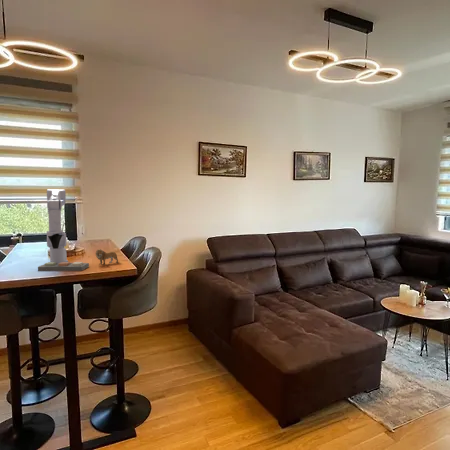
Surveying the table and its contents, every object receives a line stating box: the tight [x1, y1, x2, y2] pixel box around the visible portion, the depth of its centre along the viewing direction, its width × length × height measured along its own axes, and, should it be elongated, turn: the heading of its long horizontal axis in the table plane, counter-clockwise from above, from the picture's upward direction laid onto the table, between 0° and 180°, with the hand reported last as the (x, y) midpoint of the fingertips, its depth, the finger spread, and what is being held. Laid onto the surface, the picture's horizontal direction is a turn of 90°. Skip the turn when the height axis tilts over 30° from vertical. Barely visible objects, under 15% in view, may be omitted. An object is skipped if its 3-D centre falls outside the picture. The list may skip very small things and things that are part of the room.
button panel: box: [37, 262, 90, 272], centre depth 177 cm, size 10×22×2 cm, turn 93°
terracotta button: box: [59, 261, 71, 266], centre depth 176 cm, size 4×4×3 cm
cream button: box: [71, 261, 84, 266], centre depth 177 cm, size 4×4×3 cm
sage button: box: [44, 261, 56, 266], centre depth 176 cm, size 4×4×3 cm
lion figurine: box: [95, 248, 119, 266], centre depth 191 cm, size 15×5×9 cm, turn 147°
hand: (55, 248), depth 177 cm, fingers closed
